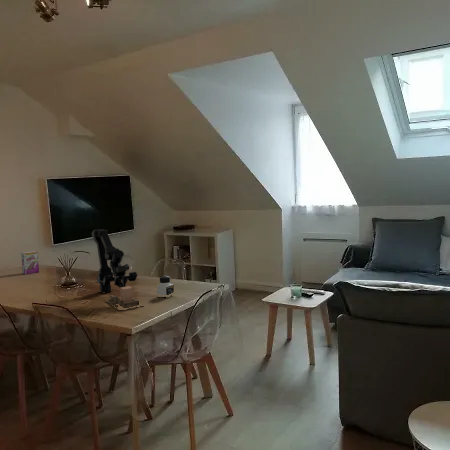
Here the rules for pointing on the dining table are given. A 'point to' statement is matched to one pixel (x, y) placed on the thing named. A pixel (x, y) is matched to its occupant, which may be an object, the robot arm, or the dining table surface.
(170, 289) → the medicine bottle
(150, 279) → the dining table surface
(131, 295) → the terracotta block
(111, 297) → the walnut chute
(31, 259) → the candy bar box
